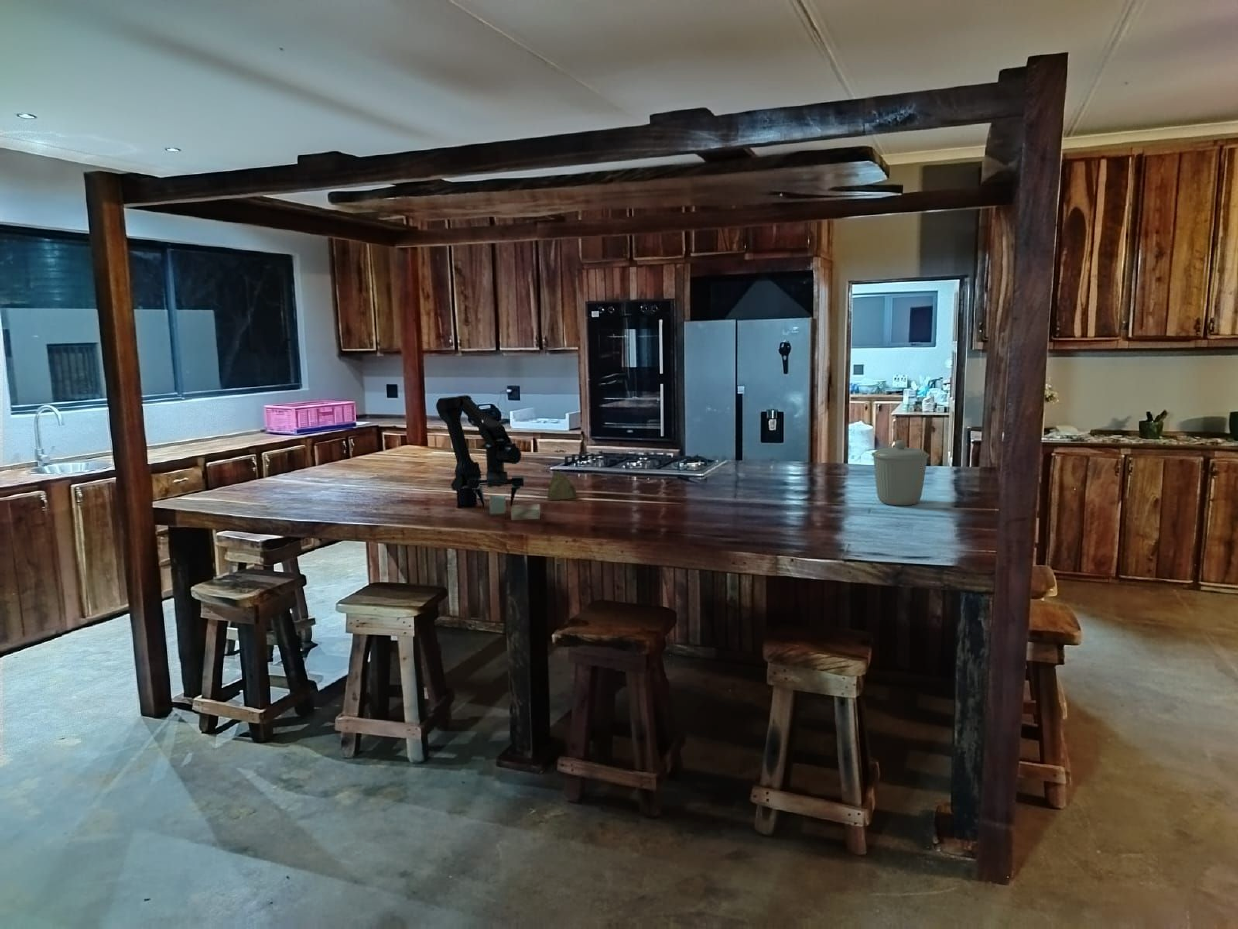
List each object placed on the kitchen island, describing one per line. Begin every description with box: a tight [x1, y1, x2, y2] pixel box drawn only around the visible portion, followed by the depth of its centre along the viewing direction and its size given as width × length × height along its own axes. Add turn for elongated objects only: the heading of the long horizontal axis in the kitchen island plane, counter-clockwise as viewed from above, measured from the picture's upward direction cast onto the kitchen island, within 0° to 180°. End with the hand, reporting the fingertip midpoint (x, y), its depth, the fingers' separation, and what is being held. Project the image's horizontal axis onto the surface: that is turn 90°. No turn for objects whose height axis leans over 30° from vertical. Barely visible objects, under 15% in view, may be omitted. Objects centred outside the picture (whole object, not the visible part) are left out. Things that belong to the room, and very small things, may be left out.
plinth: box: [510, 503, 541, 521], centre depth 266 cm, size 9×9×3 cm
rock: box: [546, 471, 579, 501], centre depth 293 cm, size 11×9×10 cm
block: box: [488, 495, 507, 515], centre depth 274 cm, size 5×5×5 cm
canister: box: [870, 439, 930, 507], centre depth 268 cm, size 18×18×21 cm
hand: (497, 507), depth 275 cm, fingers open, 9 cm apart
